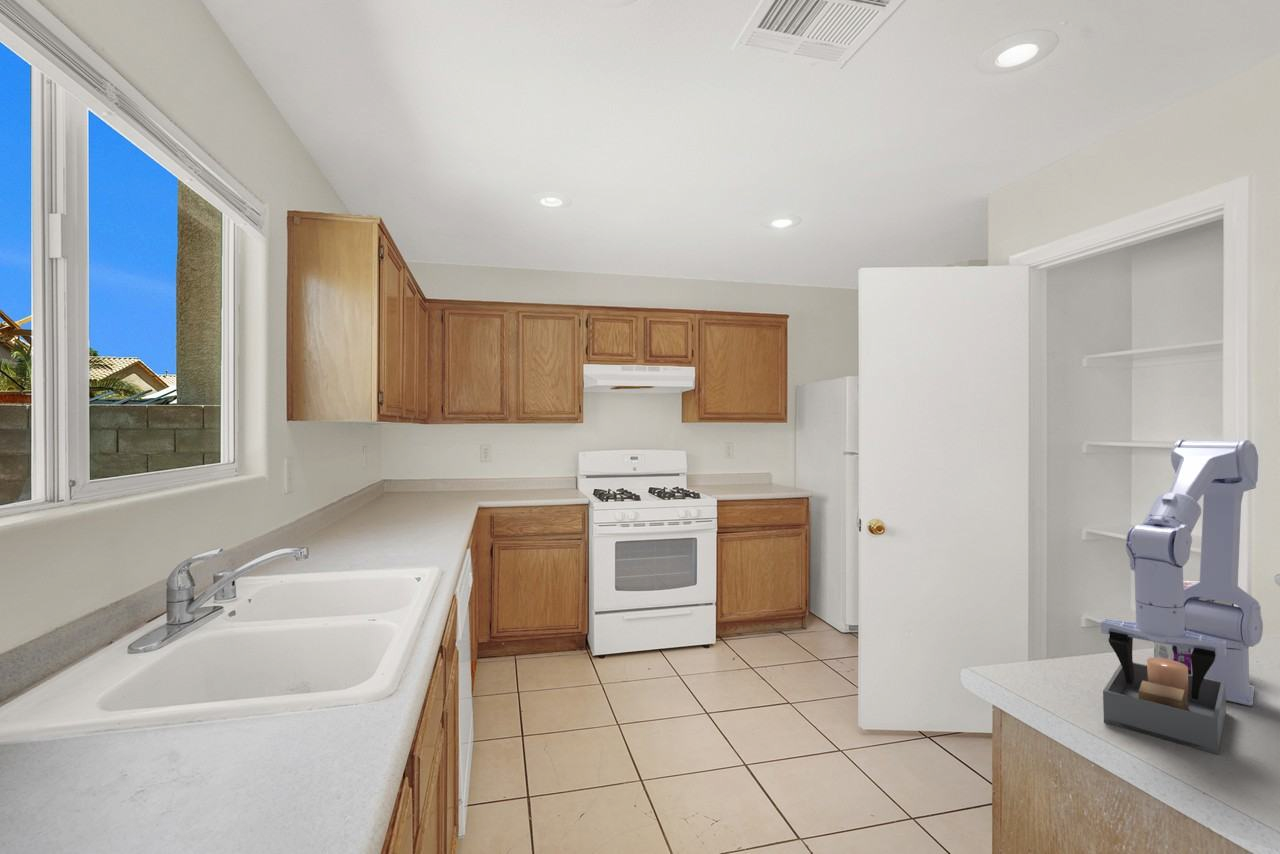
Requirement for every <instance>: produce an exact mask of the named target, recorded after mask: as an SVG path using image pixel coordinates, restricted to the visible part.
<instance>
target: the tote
mask: <svg viewBox="0 0 1280 854" xmlns="http://www.w3.org/2000/svg"><path fill="white" fill-rule="evenodd" d="M1133 669H1134V681H1133V683H1132V684H1129V683H1126V678H1125V674H1124V671H1123V668H1122V666H1121V663H1119V665H1118V666H1117V668H1116V669H1115V671H1114V673H1113V674H1112V676H1111V678H1110V679H1109V681H1107V684H1106V685H1105V687H1104V688H1103V690H1102V696H1103V698H1102V701H1103V702H1102V703H1103V704H1102V705H1103V709H1102V710H1103V723H1106V724H1109V725H1113V726H1116V727H1121V728H1124V729H1128V730H1131V731H1134V732H1138V733H1140V734H1145V735H1148V736H1152V737H1155V738H1159V739H1162V740H1165V741H1170V742H1172V741H1173V743H1176V744H1179V743H1181V744H1180V745H1183V744H1185V745H1184V746H1186V745H1188V746H1187V747H1190V746H1191V747H1190V748H1193V747H1194V749H1197V748H1198V750H1202V751H1205V752H1209V753H1212V754H1215V755H1217V756H1218V755H1219V754H1220V749H1221V744H1222V738H1223V732H1224V727H1225V723H1226V722H1225V721H1226V717H1227V700H1226V682H1222V681H1217V680H1212V679H1208V678H1204V679H1203V681H1202V683H1201V686H1200V693H1199V699H1198V700H1197V699H1193V698H1192V695H1191V691H1192V675H1191V674H1189V673H1188V688H1189V711H1186V710H1182V709H1178V708H1174V707H1170V706H1166V705H1162V704H1159V703H1155V702H1151V701H1147V700H1143V699H1139V688H1140V686H1141V683H1142V681H1147V682H1148V673H1147V664H1144V663H1143V664H1142V663H1138V662H1134V661H1133Z"/></svg>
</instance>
